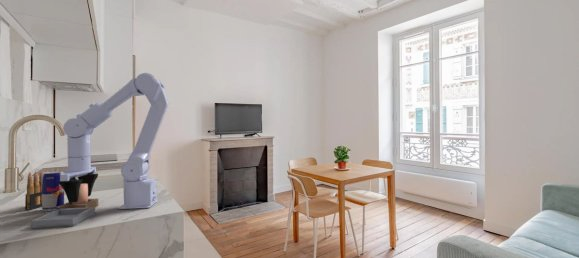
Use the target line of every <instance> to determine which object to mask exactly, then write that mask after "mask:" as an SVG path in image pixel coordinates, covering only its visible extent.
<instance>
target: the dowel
mask: <svg viewBox="0 0 579 258" xmlns="http://www.w3.org/2000/svg"><path fill="white" fill-rule="evenodd" d="M88 199H89V196H88V184H86V183H83V184H81V185H80V189H79V197H78V201H77V202H72V204H85V203H87V202H88Z"/></svg>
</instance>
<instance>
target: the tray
mask: <svg viewBox="0 0 579 258" xmlns="http://www.w3.org/2000/svg"><path fill="white" fill-rule="evenodd" d="M95 214H96V207H89V208H66V209H57V210H55V211H49V212H48V213H46V214H43V215H42V216H39V217H37V218H35V219H32V220H30V228H31V229H44V228H45V229H46V228H66V227H74V226H77V225H78V224H80V223H81V222H83V221H85V220H87V219H88V218H90V217H92V216H94V215H95Z"/></svg>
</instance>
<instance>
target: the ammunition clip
mask: <svg viewBox="0 0 579 258" xmlns="http://www.w3.org/2000/svg"><path fill="white" fill-rule="evenodd" d="M50 171H59V168H58V167H56V168H55V170H54V169H53V168H51V169H50ZM43 172H49V170H48V169H46V170H45V171H43V170H40V172H39V175H38V172H37V171H34V173H33V175H32V173H31V172H29V173H28V175H27V182H26V183H27V184H26V193H25V198H24V199H25V202H24V204H25V208H24V210H25V211H33V210H37V209H40V208H42V174H43Z"/></svg>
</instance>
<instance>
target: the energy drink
mask: <svg viewBox="0 0 579 258" xmlns="http://www.w3.org/2000/svg"><path fill="white" fill-rule="evenodd" d="M61 174H64V171H63V170H58V171H55V170H53V171H51V170H48V172H45V171H43V174H42V207H41V210H42V211H43V212H46V213H47V212H48V213H49V212H52V211H55V210H57V209H60V206H61V205H63V204H65V191H64V189H63V188H62V186H61V185H60V184H59V180H60V175H61Z"/></svg>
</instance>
